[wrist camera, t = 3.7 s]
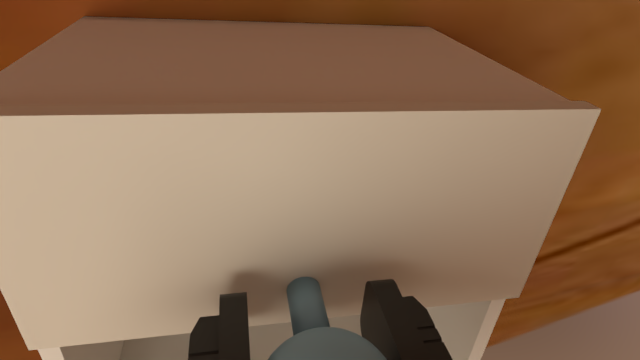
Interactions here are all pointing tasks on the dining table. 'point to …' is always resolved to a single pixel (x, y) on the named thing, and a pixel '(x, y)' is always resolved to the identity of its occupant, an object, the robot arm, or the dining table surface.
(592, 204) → the dining table surface
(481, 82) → the carton
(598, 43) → the dining table surface
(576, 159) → the flap with blue knob
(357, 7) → the dining table surface
